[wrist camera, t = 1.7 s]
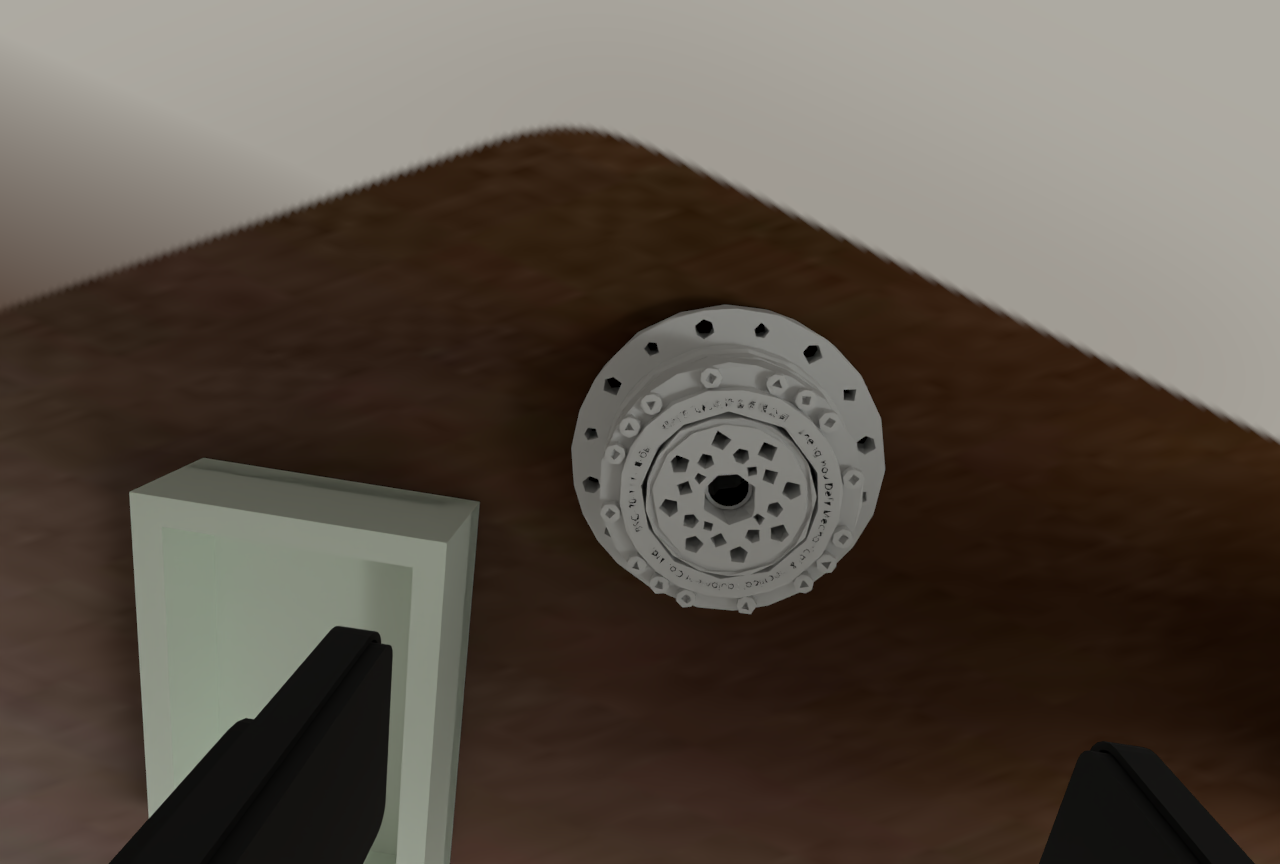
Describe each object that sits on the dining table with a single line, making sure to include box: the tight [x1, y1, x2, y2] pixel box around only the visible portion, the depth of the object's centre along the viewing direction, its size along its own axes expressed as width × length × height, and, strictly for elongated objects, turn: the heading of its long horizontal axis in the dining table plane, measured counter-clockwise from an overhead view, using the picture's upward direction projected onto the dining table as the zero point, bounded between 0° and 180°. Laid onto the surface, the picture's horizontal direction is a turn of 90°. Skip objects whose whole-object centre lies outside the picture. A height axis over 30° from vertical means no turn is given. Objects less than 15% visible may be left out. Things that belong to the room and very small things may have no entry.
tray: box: [129, 458, 480, 864], centre depth 26 cm, size 10×16×4 cm, turn 172°
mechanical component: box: [571, 304, 885, 614], centre depth 22 cm, size 10×4×10 cm
